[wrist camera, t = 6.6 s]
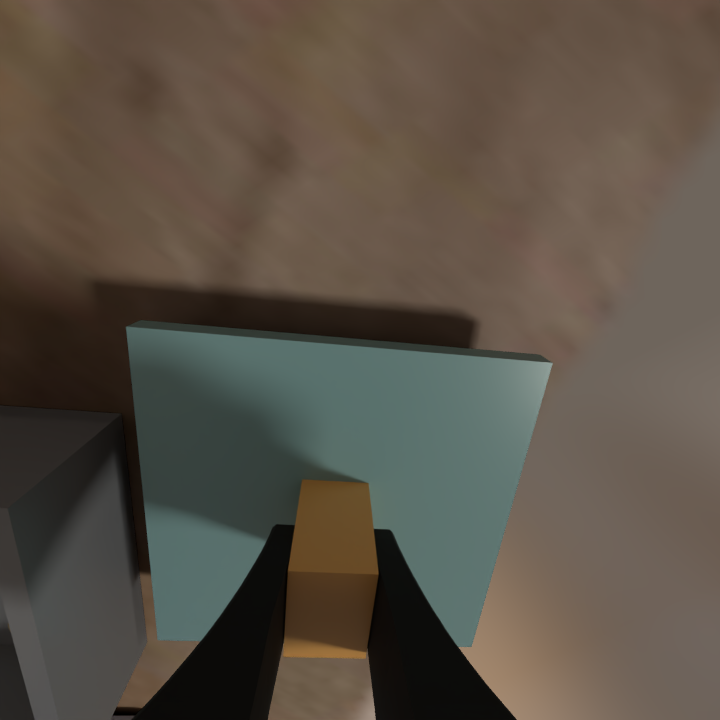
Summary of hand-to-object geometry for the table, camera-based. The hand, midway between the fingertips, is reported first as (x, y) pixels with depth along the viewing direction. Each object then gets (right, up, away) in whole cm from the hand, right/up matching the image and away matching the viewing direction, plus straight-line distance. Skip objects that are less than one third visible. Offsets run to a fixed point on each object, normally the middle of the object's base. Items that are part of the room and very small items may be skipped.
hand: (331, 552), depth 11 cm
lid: (0, +1, +3) cm, 3 cm away
